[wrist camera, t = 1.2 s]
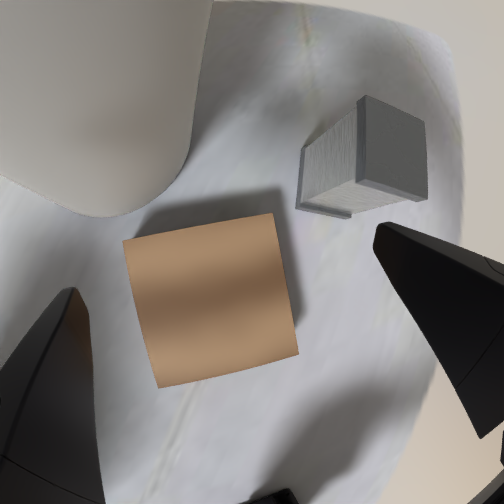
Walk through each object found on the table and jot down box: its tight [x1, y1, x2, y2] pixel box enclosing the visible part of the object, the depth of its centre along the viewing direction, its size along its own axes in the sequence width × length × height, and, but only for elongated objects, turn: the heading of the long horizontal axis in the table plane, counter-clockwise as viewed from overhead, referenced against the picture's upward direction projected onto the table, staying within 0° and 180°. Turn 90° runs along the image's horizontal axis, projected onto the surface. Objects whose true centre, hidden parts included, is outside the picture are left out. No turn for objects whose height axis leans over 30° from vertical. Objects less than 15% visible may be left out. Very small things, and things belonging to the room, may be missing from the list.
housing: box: [295, 95, 428, 219], centre depth 20 cm, size 5×5×10 cm
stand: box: [123, 213, 299, 388], centre depth 21 cm, size 10×10×3 cm
